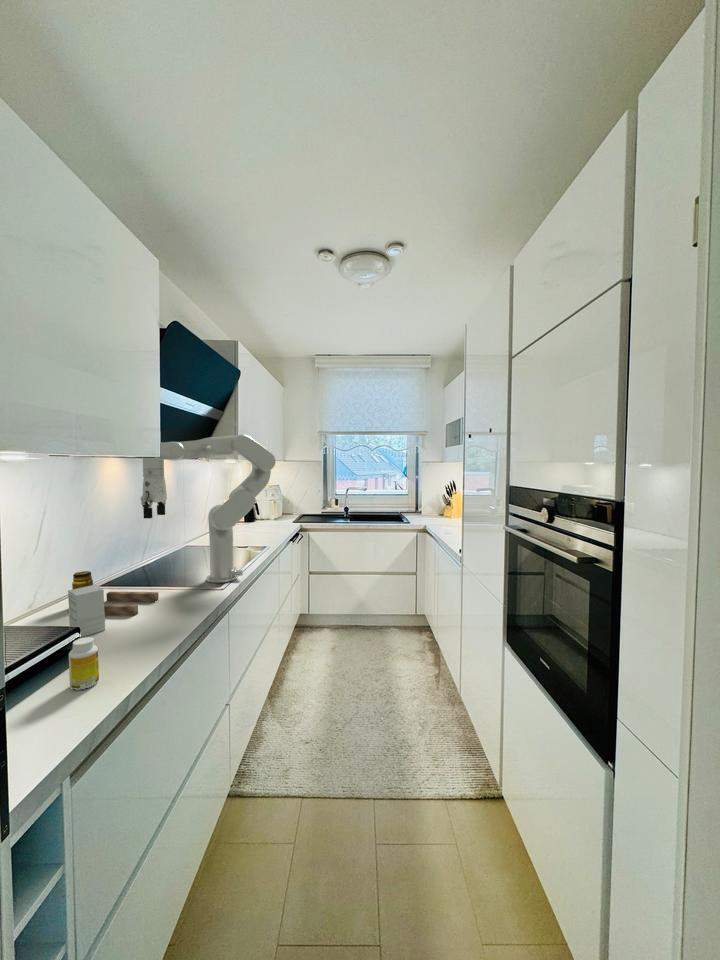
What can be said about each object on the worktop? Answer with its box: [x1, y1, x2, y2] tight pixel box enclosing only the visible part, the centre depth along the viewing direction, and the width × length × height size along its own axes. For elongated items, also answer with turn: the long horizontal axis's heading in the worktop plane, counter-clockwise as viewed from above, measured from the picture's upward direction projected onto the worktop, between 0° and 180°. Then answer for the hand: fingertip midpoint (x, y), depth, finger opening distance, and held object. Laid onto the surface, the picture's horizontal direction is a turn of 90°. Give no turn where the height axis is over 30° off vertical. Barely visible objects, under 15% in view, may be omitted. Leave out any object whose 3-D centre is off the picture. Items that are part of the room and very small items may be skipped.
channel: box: [104, 591, 159, 617], centre depth 146 cm, size 18×15×3 cm
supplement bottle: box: [68, 636, 100, 691], centre depth 96 cm, size 6×6×10 cm
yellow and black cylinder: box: [71, 570, 94, 590], centre depth 147 cm, size 7×8×12 cm
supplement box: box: [67, 584, 106, 638], centre depth 125 cm, size 7×7×13 cm
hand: (154, 516), depth 167 cm, fingers open, 9 cm apart
